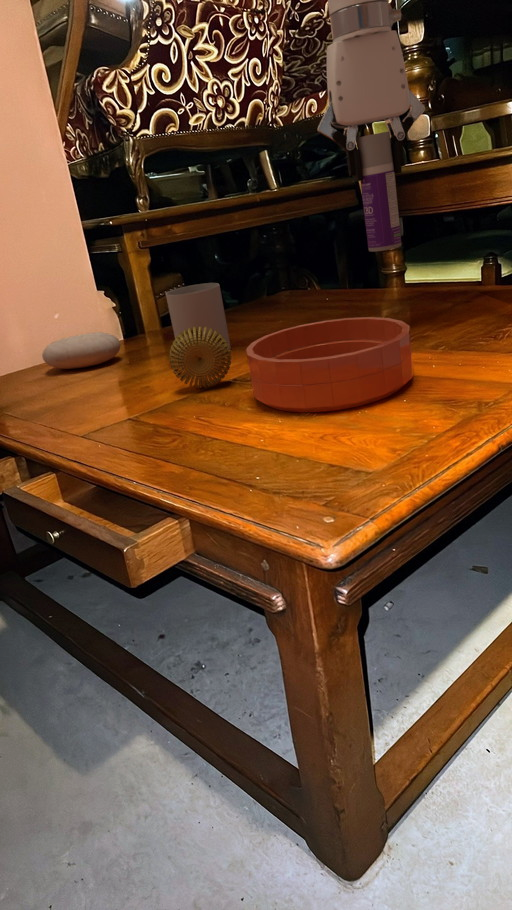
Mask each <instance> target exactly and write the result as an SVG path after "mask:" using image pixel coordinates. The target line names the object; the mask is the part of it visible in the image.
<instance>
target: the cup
mask: <svg viewBox="0 0 512 910" xmlns="http://www.w3.org/2000/svg"><path fill="white" fill-rule="evenodd" d="M165 297H166V303H167V306H168V312H169V316H170V317H169V318H170V320H171V326H172V331H173V335H174V339H175V338H176V337H177V336H179V334H180V333H181V332H182V333H183V331H184V330H188V328H190V327H191V328H192V329H193V327H197V329H198V328H199V326H202V335H203V330H204V326H205V327H207V330H206V336H207V333H208V331H209V328H211V329H212V330H211V333H210V336H211V334H212V333H213V331H214V330H216V331H217V332H216V335H217V334H218V333H220V334H221V337H224V338H225V339H224V341H227V342H228V344H227V345H229V347H230V349H229V350H230V351H231V349H232V348H231V342H230V335H229V330H228V325H227V319H226V313H225V308H224V303H223V297H222V291H221V286H220V284H219V283H218V282H207V283H206V282H205V283H199V284H192V285H187V286H183V287H178V288H174V289H172V290H169V291H167V292H165ZM191 334H192V333H191ZM216 335H215V336H216ZM187 336H188V334H187ZM210 336H209V338H210ZM188 337H189V336H188ZM192 337H193V335H192ZM196 337H197V336H196ZM183 338H184V337H183ZM193 338H194V337H193ZM184 339H185V338H184ZM205 340H206V337H205ZM179 341H181V340H179ZM214 341H215V340H214ZM181 342H182V341H181ZM219 342H220V341H219ZM219 342H218V343H219ZM218 343H216V344H218ZM176 344H177V345H179V344H178V343H176ZM216 344H215V345H216ZM187 345H188V344H187ZM220 346H222V345H220ZM185 347H186V346H185ZM181 349H182V348H181ZM224 349H226V348H223V349H221V350H224ZM180 353H181V352H180ZM180 356H181V355H180Z"/></svg>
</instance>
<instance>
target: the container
mask: <svg viewBox="0 0 512 910" xmlns="http://www.w3.org/2000/svg"><path fill="white" fill-rule="evenodd" d="M390 138H391V137H390V133H389V131H384V132H377V133H372V134H367V135H363V136H359V137H356V145H357V149H358V150H360V157H361V166H362V175H363V179H362V180H361V181H359V183H360V188H361V190H360V191H361V198H362V206H363V215H364V224H365V231H366V232H365V233H366V237H367V238H366V241H367V249H368V252H370V253H371V252H372V253H373V252H375V253H376V252H382V251H388V250H393V249H397V248H400V247H402V236H401V225H400V215H399V206H398V205H399V204H398V195H397V184H396V174H394V165H393V157H392V149H391V141H390Z"/></svg>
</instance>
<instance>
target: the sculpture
mask: <svg viewBox="0 0 512 910" xmlns="http://www.w3.org/2000/svg"><path fill="white" fill-rule="evenodd" d="M206 330H207V327H205V326H204V330H203V335H202V326H199V328H198V329H197V327H193V329H192V328H191V327H190V328H188V330H184V331H183V333H182V332H181V333H180V334H179V336H177V337H176V338H175V337H174V340H172V344H171V345H170V350H169V356H168V359H169V365H170V368H171V370H173V374H174V375H176V378H177V379H179V380H180V382H184V384H185V385H188V386H189V387H192V386H193V388H196V389H197V387H198V388H199V389H202V388H204V389H205V388H206V389H207V388H208V387H212V386H213V385H217V384H218V383H221V381H222V380H223V379H224V378H225V377H226V376H227V374H228V372H229V371H230V368H231V365H232V361H231V360H232V357H233V356H232V350H231V349H230V347H229V345H227V344H228V342H227V341H224V339H225V338H224V337H221V334H220V333H218V334H217V335H216V332H217V331H216V330H214V331H213V333H212V334H211V336H210V333H211V330H212V329H211V328H209V331H208V333H207V336H206ZM191 333H192V334H191ZM187 334H188V336H189V337H188V336H187ZM192 335H193V337H194V338H193V337H192ZM215 335H216V336H215ZM196 336H197V337H196ZM209 336H210V338H209ZM183 337H184V338H185V339H184V338H183ZM205 337H206V340H205ZM179 340H181V341H182V342H181V341H179ZM214 340H215V341H214ZM219 341H220V342H219ZM218 342H219V343H218ZM176 343H178V344H179V345H177V344H176ZM216 343H218V344H216ZM187 344H188V345H187ZM215 344H216V345H215ZM220 345H222V346H220ZM185 346H186V347H185ZM181 348H182V349H181ZM223 348H226V349H224V350H221V349H223ZM229 349H230V350H229ZM180 352H181V353H180ZM180 355H181V356H180ZM188 383H189V384H188ZM193 383H194V384H193Z"/></svg>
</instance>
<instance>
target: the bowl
mask: <svg viewBox="0 0 512 910" xmlns="http://www.w3.org/2000/svg"><path fill="white" fill-rule="evenodd" d="M411 337H412V335H411V326H410V324H407V323H406V322H404V321H403V320H401V319H400V320H399V319H395V318H389V317H379V316H377V317H376V316H366V317H365V316H363V317H362V316H361V317H343V318H336V319H327V320H321V321H315V322H310V323H304V324H300V325H296V326H291V327H288V328H284V329H281V330H277V331H275V332H272V333H269V334H267V335H264V336H262V337H259V338H258V339H256V340H254V341H252V342H251V343H250V344H249V345H248V346H247V347H246V348H245V354H246V359H247V363H248V364H247V365H248V370H249V376H250V377H249V378H250V381H251V388H252V392H253V396H254V399H255V400H257V401H259V402H260V403H262V404H264V405H266V406H267V407H270V408H271V409H275V410H279V411H284V412H289V413H290V412H291V413H292V412H293V413H320V412H321V413H322V412H332V411H341V410H346V409H347V410H348V409H351V408H357V407H360V406H365V405H369V404H371V403H375V402H377V401H380V400H383V399H385V398H387V397H390V396H391V395H394V394H395V393H397V392H398V391H400V390H401V389H403V387H404V386H405V385H406V384H407V383H408V382H409V381H411V380H412V378H413V377H414V376H413V375H414V363H413V361H414V360H413V350H412V338H411Z"/></svg>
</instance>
